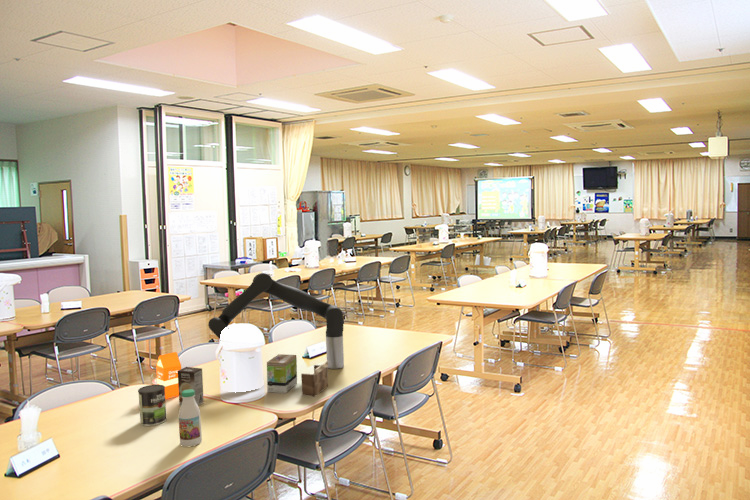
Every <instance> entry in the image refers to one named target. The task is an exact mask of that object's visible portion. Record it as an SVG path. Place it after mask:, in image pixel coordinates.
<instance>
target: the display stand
mask: <svg viewBox="0 0 750 500" xmlns="http://www.w3.org/2000/svg"><path fill="white" fill-rule="evenodd" d="M327 366H328V361H327V360H326V361H325V362H324V363H322V364H314V365H313V370H314V371H313V373H301V375H300V376H301V395H302V396H306V397H316V396H317V395H319V393H321V392H322V391H324V390H325V389H326V388H327V387H328V386H329V377H328V376H329V374H328V372H329V371H328V368H327Z"/></svg>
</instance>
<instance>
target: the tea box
mask: <svg viewBox="0 0 750 500" xmlns="http://www.w3.org/2000/svg"><path fill="white" fill-rule="evenodd" d="M297 362H298V360H297V354H285V353H283V354H280V353H279V354H276V355H275V356H274V357H272V358H271V359H270V360H268V361H266V382H267V384H266V387H267V390H266V391H267V393H279V394H281V393H282V394H286V393H288V391H290V390H291V389H292V388H293V387H294V386H296V385H297V384H298V369H297V368H298V367H297V366H298V365H297Z"/></svg>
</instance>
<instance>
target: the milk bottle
mask: <svg viewBox="0 0 750 500" xmlns="http://www.w3.org/2000/svg"><path fill="white" fill-rule="evenodd" d="M194 396H195V391H194V390H193V389H188V390H184V391H182V398H183V401H182V405H180V407H179V411H178V428H179V429H178V430H179V444H180V446H181V445H182V446H181V447H183V446H192V447H194V445H196V446H198V445H200V444H201V443H202V441H203V438H202V419H201V418H202V417H201V411H200V406H198V405H197V403H196V401H195V398H194ZM200 442H201V443H200ZM199 443H200V444H199ZM197 444H198V445H197Z"/></svg>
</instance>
